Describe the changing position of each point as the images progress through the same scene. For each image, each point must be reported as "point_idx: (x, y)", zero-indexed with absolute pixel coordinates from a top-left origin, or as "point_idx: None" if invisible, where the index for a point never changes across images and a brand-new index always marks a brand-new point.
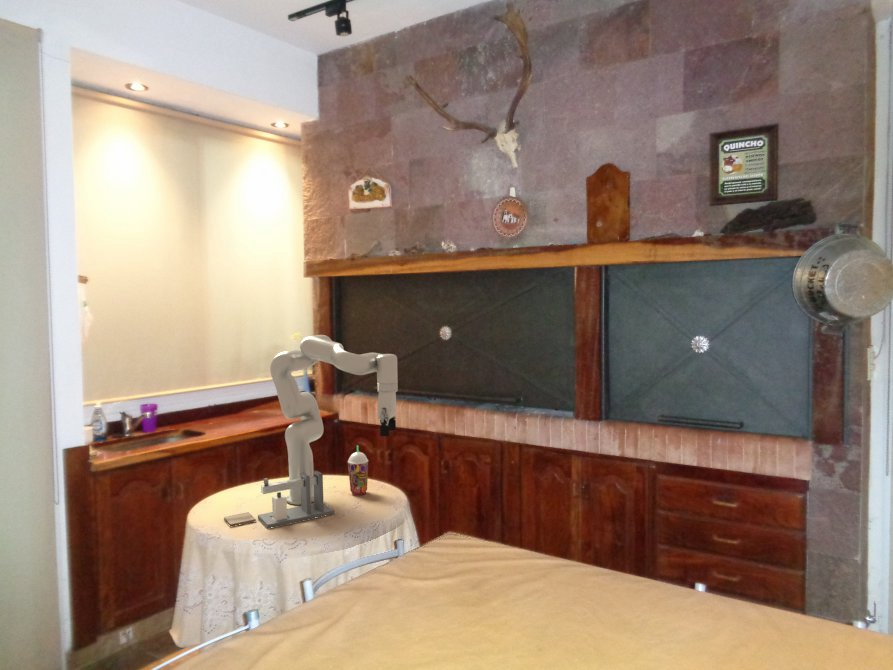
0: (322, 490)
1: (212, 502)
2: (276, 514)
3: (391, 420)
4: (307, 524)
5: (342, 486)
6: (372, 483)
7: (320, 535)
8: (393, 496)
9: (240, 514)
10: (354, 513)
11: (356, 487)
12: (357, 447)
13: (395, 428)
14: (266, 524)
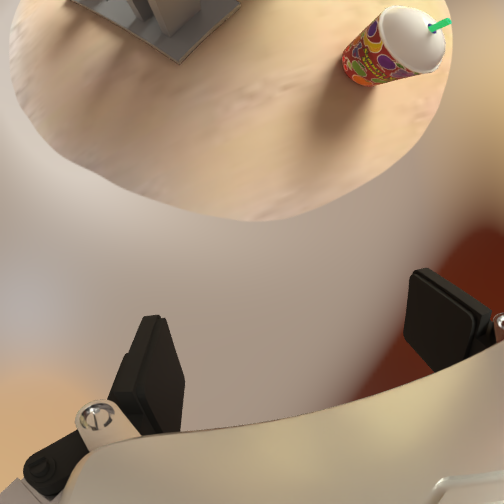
0: (158, 11)
1: None
2: None
3: (459, 361)
4: (99, 47)
5: None
6: (433, 85)
7: (46, 119)
8: (361, 168)
9: None
10: (199, 112)
11: (348, 59)
12: (441, 22)
13: (413, 344)
14: None
